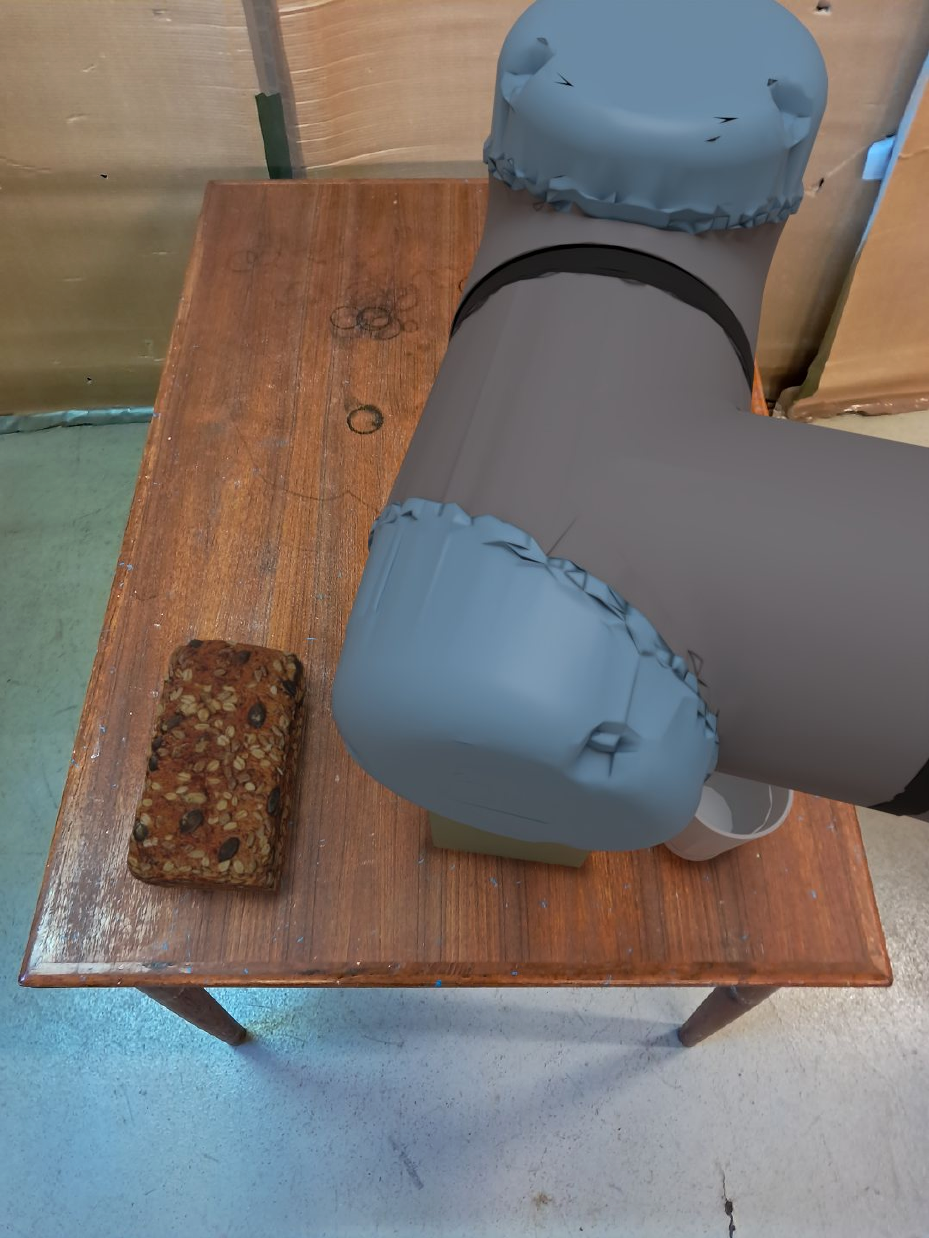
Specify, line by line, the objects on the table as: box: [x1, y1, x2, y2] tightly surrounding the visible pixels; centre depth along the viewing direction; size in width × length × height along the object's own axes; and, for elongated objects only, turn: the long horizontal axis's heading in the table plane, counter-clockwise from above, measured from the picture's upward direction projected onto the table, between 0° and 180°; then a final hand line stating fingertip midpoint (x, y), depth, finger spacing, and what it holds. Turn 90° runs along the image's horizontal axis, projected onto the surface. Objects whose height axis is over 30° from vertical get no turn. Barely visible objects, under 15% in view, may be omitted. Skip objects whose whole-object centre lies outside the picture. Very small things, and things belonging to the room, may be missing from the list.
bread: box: [126, 638, 307, 893], centre depth 65 cm, size 19×11×10 cm, turn 177°
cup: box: [663, 771, 795, 862], centre depth 62 cm, size 8×8×12 cm
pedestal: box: [427, 810, 592, 869], centre depth 62 cm, size 12×12×16 cm
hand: (531, 700), depth 52 cm, fingers closed on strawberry, 4 cm apart
